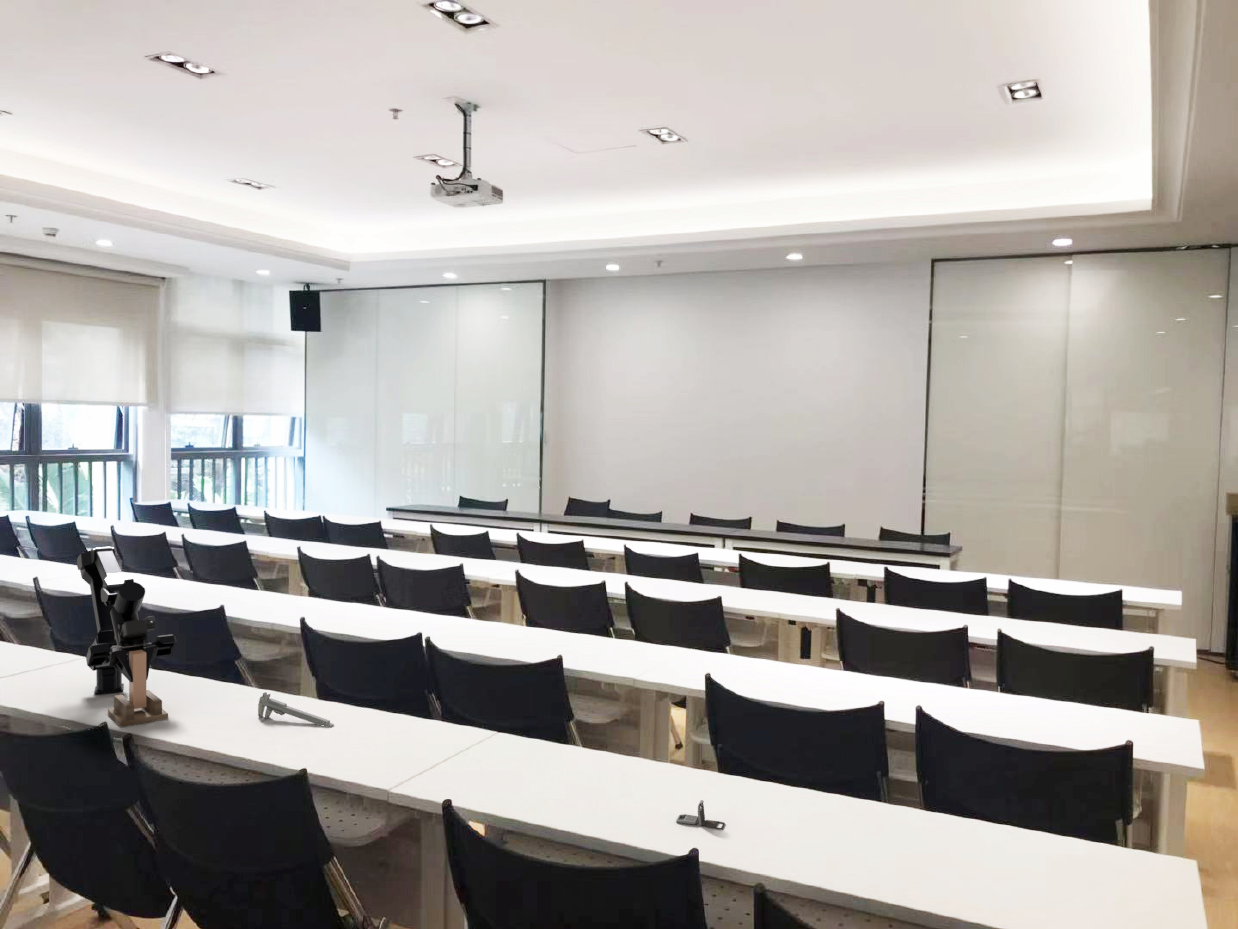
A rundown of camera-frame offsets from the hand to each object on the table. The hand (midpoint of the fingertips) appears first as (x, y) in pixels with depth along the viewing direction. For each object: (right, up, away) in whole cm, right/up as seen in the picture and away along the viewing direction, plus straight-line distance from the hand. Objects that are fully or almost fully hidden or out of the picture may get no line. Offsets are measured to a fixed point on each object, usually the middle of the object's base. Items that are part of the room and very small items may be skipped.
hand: (139, 680), depth 217 cm
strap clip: (+128, -14, -52) cm, 138 cm away
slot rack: (-1, -9, +1) cm, 9 cm away
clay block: (-1, -7, +1) cm, 7 cm away
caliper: (+37, -10, 0) cm, 38 cm away
